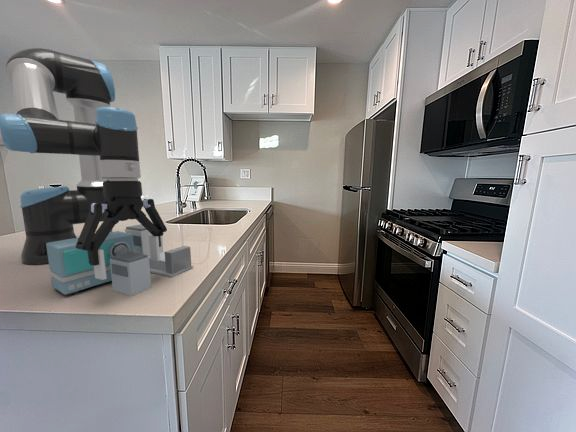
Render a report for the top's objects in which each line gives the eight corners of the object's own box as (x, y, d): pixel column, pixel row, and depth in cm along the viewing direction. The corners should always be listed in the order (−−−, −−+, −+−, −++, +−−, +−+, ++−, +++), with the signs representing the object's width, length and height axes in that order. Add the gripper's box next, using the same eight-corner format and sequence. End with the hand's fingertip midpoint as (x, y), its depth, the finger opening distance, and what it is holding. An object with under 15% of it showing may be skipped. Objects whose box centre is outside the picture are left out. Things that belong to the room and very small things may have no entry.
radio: (66, 300, 57) (54, 212, 53) (52, 290, 61) (40, 208, 58) (139, 276, 70) (132, 205, 67) (122, 270, 75) (116, 202, 71)
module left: (126, 264, 77) (122, 227, 75) (148, 257, 84) (145, 223, 82) (142, 268, 74) (138, 229, 72) (163, 260, 81) (161, 225, 79)
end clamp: (166, 272, 71) (164, 252, 70) (185, 264, 78) (184, 245, 77) (172, 273, 70) (171, 253, 69) (191, 265, 77) (190, 246, 76)
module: (111, 290, 61) (108, 257, 60) (132, 282, 66) (129, 251, 65) (131, 296, 58) (127, 261, 57) (151, 287, 63) (148, 255, 62)
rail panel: (124, 266, 77) (123, 255, 76) (147, 258, 84) (146, 248, 84) (171, 277, 69) (170, 265, 69) (192, 268, 77) (192, 256, 76)
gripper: (66, 180, 45) (81, 292, 48) (177, 179, 68) (182, 255, 71) (44, 180, 48) (59, 285, 51) (157, 179, 71) (163, 252, 74)
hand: (130, 268), depth 61 cm, fingers open, 13 cm apart
